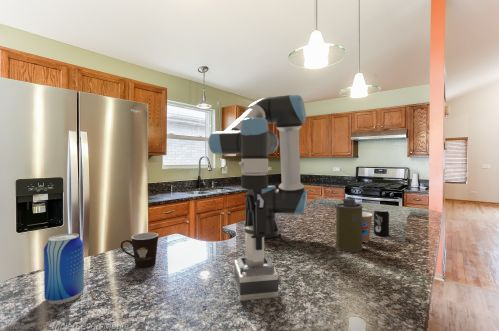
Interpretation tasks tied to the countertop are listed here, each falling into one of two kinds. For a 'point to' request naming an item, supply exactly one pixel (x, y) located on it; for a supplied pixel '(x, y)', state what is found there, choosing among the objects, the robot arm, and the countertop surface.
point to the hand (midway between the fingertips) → (254, 256)
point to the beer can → (63, 268)
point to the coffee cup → (366, 226)
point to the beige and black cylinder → (251, 248)
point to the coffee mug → (143, 249)
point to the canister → (349, 225)
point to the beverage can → (381, 222)
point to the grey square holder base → (255, 279)
